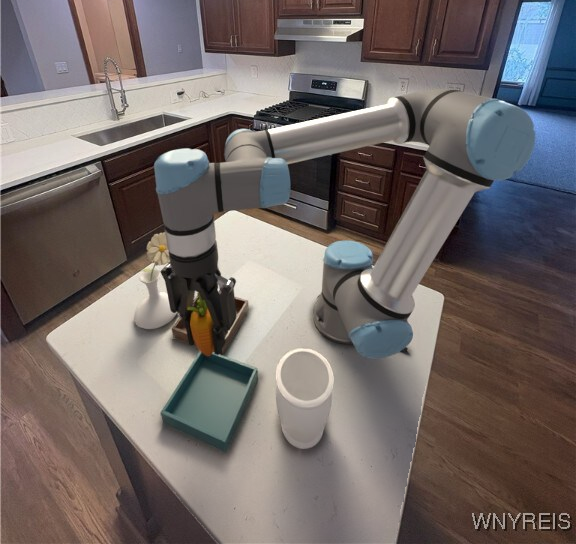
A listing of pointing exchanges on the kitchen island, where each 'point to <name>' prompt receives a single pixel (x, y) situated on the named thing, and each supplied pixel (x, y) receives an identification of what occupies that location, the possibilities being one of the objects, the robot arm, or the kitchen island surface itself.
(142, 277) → the flower in vase
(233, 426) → the tray
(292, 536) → the kitchen island surface
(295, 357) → the jar
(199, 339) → the carrot
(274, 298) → the kitchen island surface
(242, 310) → the tray
